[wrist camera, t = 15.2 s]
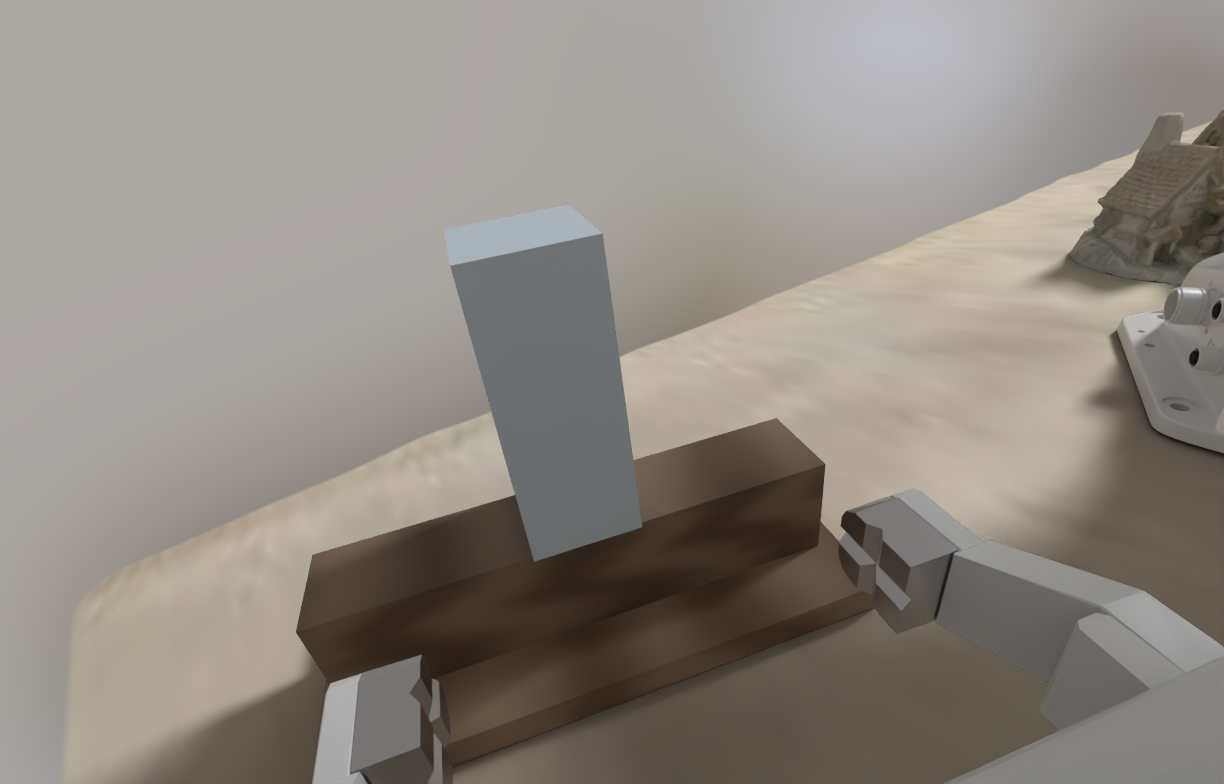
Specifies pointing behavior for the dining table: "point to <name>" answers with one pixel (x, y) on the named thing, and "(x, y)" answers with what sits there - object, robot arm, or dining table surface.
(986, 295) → the dining table surface
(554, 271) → the pillar
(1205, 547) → the dining table surface
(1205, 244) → the ceramic cottage
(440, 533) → the stand
